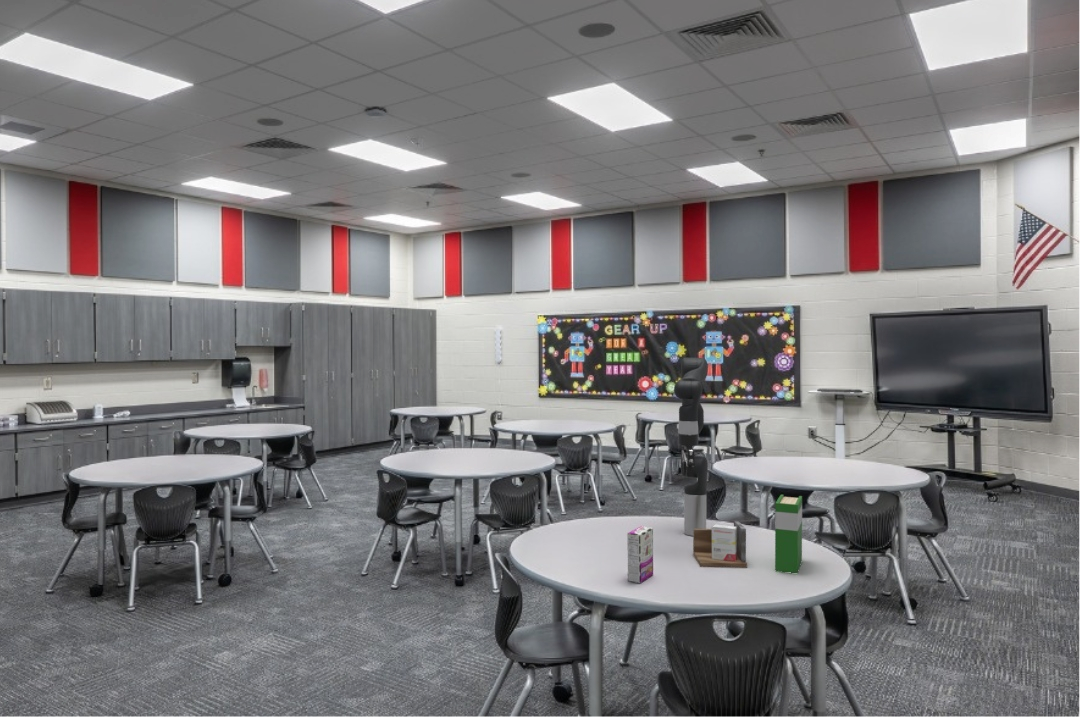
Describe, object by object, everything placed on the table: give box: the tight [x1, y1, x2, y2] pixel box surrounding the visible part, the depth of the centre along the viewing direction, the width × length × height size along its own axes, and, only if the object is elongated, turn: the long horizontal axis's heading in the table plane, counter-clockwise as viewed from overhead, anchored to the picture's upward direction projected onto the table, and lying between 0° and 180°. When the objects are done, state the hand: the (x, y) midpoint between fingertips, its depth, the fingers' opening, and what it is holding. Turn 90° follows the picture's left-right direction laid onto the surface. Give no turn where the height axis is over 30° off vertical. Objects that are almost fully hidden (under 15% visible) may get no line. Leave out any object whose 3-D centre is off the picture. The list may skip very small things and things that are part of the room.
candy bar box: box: [626, 525, 654, 584], centre depth 233 cm, size 11×5×16 cm, turn 148°
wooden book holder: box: [692, 520, 748, 569], centre depth 254 cm, size 15×16×14 cm
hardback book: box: [774, 494, 803, 574], centre depth 249 cm, size 18×7×24 cm, turn 155°
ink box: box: [711, 524, 737, 561], centre depth 252 cm, size 9×5×12 cm, turn 66°
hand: (687, 474), depth 264 cm, fingers open, 8 cm apart
